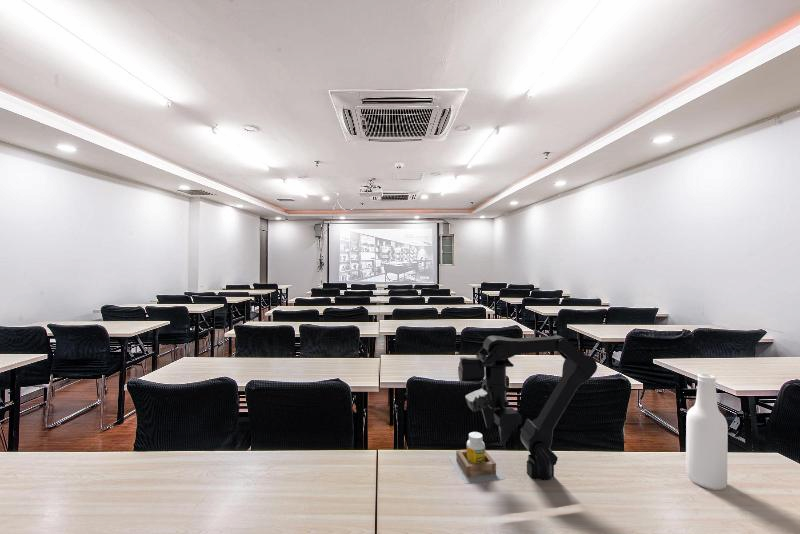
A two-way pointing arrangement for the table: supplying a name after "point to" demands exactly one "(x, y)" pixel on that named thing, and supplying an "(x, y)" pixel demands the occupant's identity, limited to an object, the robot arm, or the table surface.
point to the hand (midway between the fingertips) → (495, 435)
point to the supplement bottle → (475, 448)
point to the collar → (475, 465)
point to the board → (475, 478)
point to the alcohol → (706, 438)
